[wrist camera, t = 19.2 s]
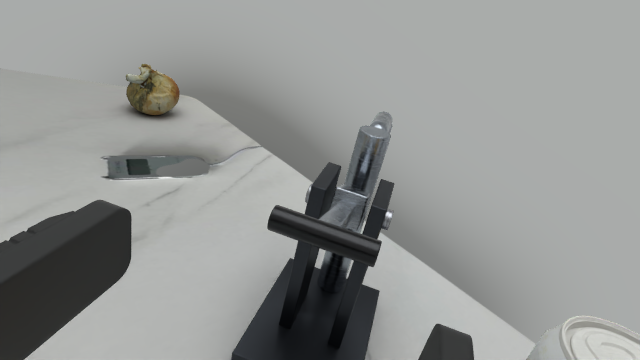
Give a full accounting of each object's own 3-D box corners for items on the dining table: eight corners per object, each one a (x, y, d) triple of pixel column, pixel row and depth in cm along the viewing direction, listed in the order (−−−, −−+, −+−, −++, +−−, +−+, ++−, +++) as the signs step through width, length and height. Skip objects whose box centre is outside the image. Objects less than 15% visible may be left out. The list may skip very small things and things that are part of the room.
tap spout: (339, 296, 35) (389, 141, 28) (314, 287, 35) (357, 131, 29) (357, 246, 42) (399, 113, 36) (336, 239, 43) (374, 106, 36)
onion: (176, 123, 64) (179, 74, 61) (122, 117, 62) (122, 66, 58) (179, 108, 71) (182, 63, 67) (130, 101, 68) (130, 54, 65)
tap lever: (368, 283, 17) (386, 231, 17) (260, 244, 18) (275, 193, 17) (378, 230, 29) (389, 199, 28) (314, 208, 29) (323, 177, 29)
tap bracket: (350, 416, 27) (415, 255, 21) (229, 365, 28) (258, 200, 22) (375, 300, 37) (424, 172, 31) (287, 268, 39) (317, 138, 33)
